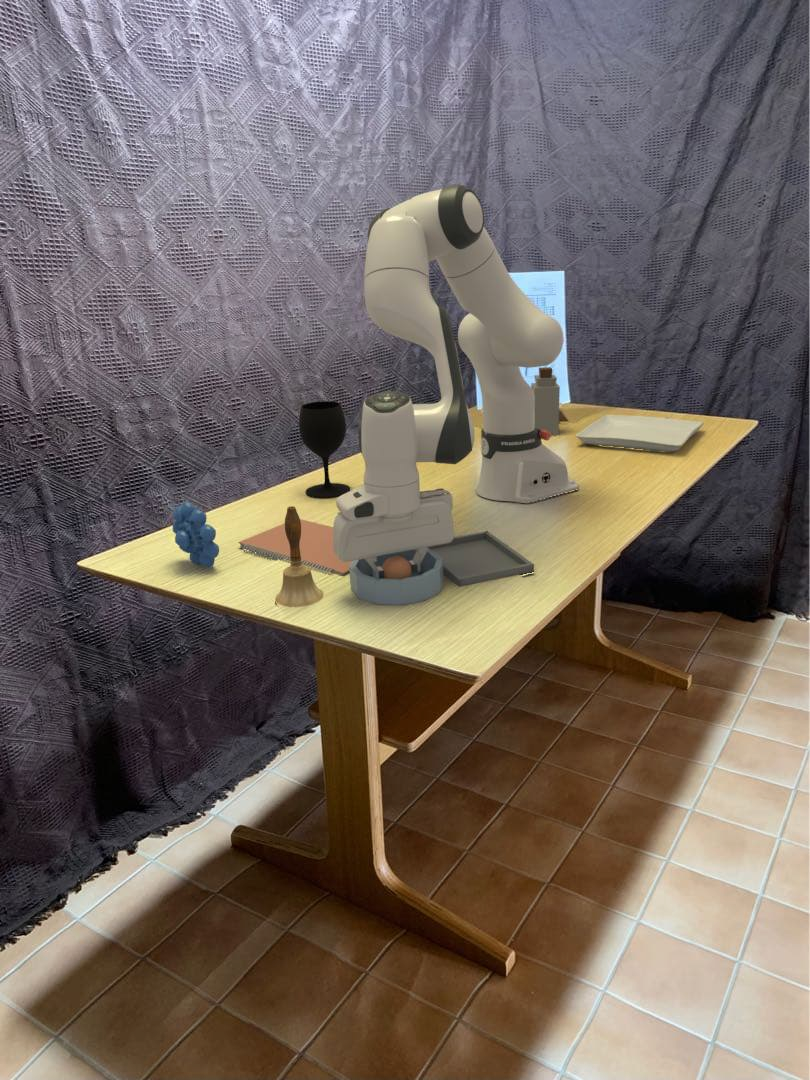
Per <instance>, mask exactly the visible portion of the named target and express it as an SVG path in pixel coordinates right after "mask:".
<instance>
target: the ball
mask: <svg viewBox="0 0 810 1080" xmlns="http://www.w3.org/2000/svg"><path fill="white" fill-rule="evenodd" d="M382 569H383V570H384V579H404V578H409V577H411V573H412V569H411V565H410V563H409V562H408V561H407V560H406V559H405V558H403V557H400V556H393V557H390V558H388V559H387V560H386V561H385V562H384V564H383V566H382Z"/></svg>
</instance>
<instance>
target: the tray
mask: <svg viewBox="0 0 810 1080" xmlns="http://www.w3.org/2000/svg"><path fill="white" fill-rule="evenodd" d="M426 549H428V550H432V551H434V552H435V553H436V554H438V555H439V556H440V557H441V558H442V559H443V574H445V575H446V576H447V577H448V578H449V579H450V580H451V581H452V582H454V583H455V584H456V585H457V586H458V587H463V586H467V585H472V584H476V583H482V582H486V581H487V582H488V581H491V580H497V579H502V578H506V577H510V576H511V577H512V576H517V575H518V576H520V575H523V574H527V573H532V572H534V573H535V563H533V562H532V561H531V560H529V559H527V558H526V557H525V556H524V555H522V554H521V553H519V552H518V551H516V550H515V549H513V548H512V547H510V546H509V545H508V544H506V543H505V542H504V541H502V540H501V539H499V538H498V537H497V536H495V535H494V534H492V533H491V532H489V531H488V530H485V531H480V532H479V531H478V532H475V533H469V534H468V533H467V534H464V535H459V536H458V535H456V536H454V538H453V540H452V541H451V542H450V543H446V544H441V545H435V546H430V547H426Z"/></svg>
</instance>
